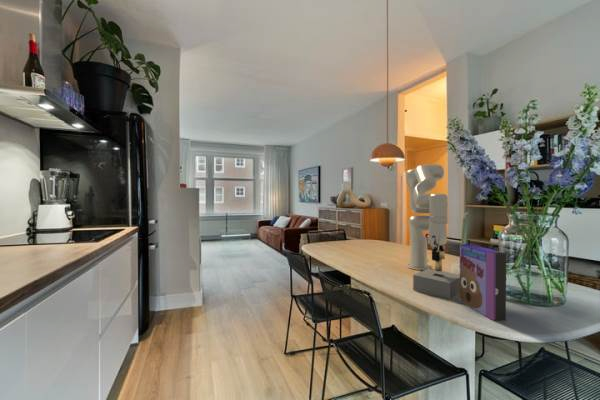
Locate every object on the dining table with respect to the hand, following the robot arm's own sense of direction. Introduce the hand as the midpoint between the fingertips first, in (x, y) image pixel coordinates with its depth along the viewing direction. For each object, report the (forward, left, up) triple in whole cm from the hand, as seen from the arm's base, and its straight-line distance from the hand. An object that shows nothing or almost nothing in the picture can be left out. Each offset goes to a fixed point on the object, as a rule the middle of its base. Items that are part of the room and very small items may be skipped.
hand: (438, 259), depth 127 cm
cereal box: (+11, +20, -15) cm, 27 cm away
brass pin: (0, 0, -5) cm, 5 cm away
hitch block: (0, 0, -15) cm, 15 cm away
